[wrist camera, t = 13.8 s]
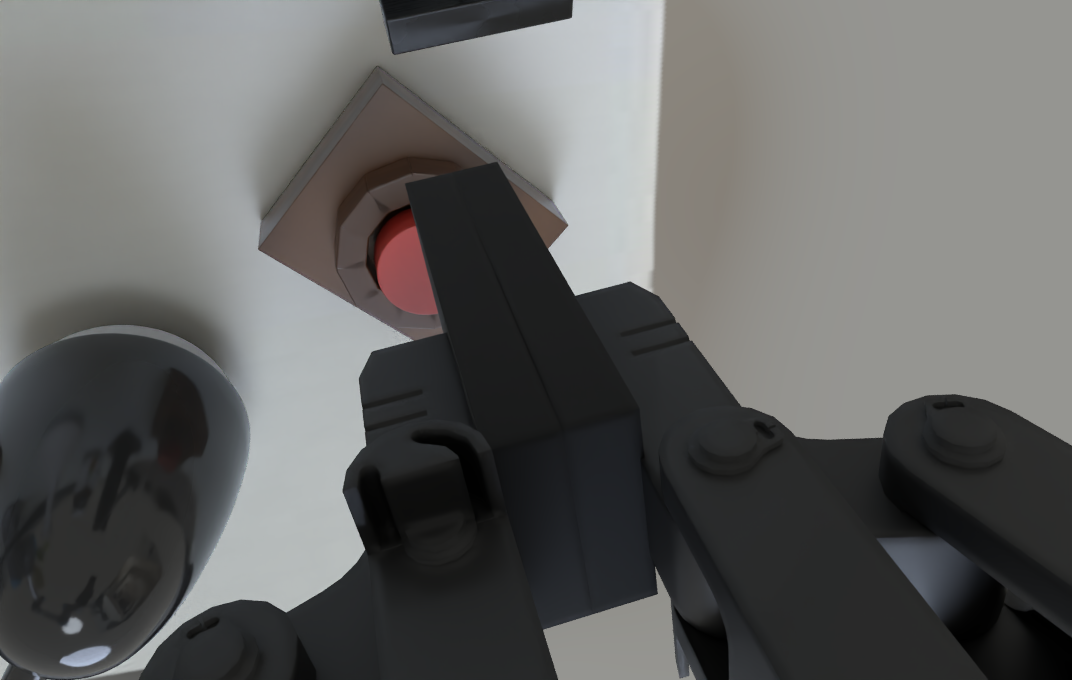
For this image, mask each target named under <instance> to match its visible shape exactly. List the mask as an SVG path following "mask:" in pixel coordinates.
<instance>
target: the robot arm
mask: <svg viewBox="0 0 1072 680" xmlns="http://www.w3.org/2000/svg"><path fill="white" fill-rule="evenodd" d="M405 186H406V190H407V194H408V198H409V202H410V206H411V210H412V213H413V217H414V221H415V225H416V229H417V233H418V237H419V241H420V245H421V248H422V252H423V256H424V260H425V264H426V268H427V272H428V276H429V280H430V284H431V287H432V291H433V295H434V299H435V303H436V307H437V311H438V315H439V319H440V322H441V326H442V330H443V333H442V334H438V335H434V336H430V337H426V338H423V339H419V340H415V341H411V342H407V343H403V344H400V345H396V346H392V347H388V348H384V349H380V350H377V351H373V352H372V353H371V355H370V357H369V359H368V361H367V363H366V365H365V367H364V369H363V371H362V373H361V375H360V377H359V385H360V394H361V403H362V407H363V410H362V411H363V420H364V428H365V431H366V432H365V438H366V447H365V448H363V449H362V450H361V451H360V452H359V454H358V455H357V456H356V458H355V459H354V461H353V462H352V463H351V465H350V466H349V468H348V469H347V471H346V476H345V481H344V486H343V494H344V496H345V499H346V501H347V504H348V507H349V509H350V512H351V514H352V517H353V519H354V522H355V524H356V527H357V529H358V532H359V534H360V537H361V539H362V542H363V545H364V547H365V551H364V553H363V554H362V556H361V557H360V559H359V560H358V562H357V563H356V564H355V565H354V566H353V567H352V568H351V569H350V570H349V571H348V572H347V573H346V574H345V575H344V576H343V577H342V578H341V579H340V580H338V581H337V582H335V583H334V584H333V585H331V586H330V587H328V588H327V589H325V590H324V591H323V592H321V593H319V594H318V595H316V596H314V597H312V598H311V599H309V600H307V601H306V602H304V603H302V604H300V605H299V606H297V607H295V608H294V609H292V610H290V611H288V612H287V613H286V612H284V611H282V610H281V609H279V608H277V607H275V606H274V605H272V604H270V603H268V602H266V601H252V600H238V601H234V602H230V603H226V604H222V605H219V606H215V607H211V608H210V609H208V610H206V611H204V612H203V613H201V614H199V615H197V616H195V617H194V618H192V619H190V620H188V621H187V622H185V623H183V624H182V625H181V626H180V627H179V628H178V629H177V630H176V631H175V632H173V633H172V634H171V635H170V636H169V637H168V638H167V639H166V640H165V641H164V642H163V643H162V644H161V645H160V646H158V648H157V650H156V651H155V653H154V654H153V656H152V658H151V659H150V661H149V663H148V664H147V666H146V667H145V669H144V671H143V672H142V674H141V676H140V678H139V680H558V678H557V674H556V671H555V668H554V665H553V661H552V658H551V655H550V652H549V648H548V645H547V642H546V639H545V635H544V632H543V629H546V628H550V627H553V626H556V625H559V624H563V623H566V622H569V621H572V620H576V619H579V618H582V617H585V616H589V615H592V614H595V613H598V612H602V611H605V610H608V609H611V608H614V607H617V606H621V605H624V604H627V603H631V602H634V601H637V600H640V599H644V598H647V597H650V596H653V595H656V594H658V592H657V582H656V573H655V567H656V569H657V571H658V573H659V575H660V577H661V579H662V581H663V583H664V586H665V588H666V590H667V592H668V594H669V596H670V598H671V608H672V620H673V633H674V644H675V657H676V663H677V668H678V672H679V677H680V678H683V677H686V676H689V665H690V667H691V670H692V672H693V674H694V676H695V678H696V680H1072V446H1071V445H1069V444H1068V443H1066V442H1064V441H1063V440H1061V439H1059V438H1058V437H1056V436H1054V435H1052V434H1051V433H1049V432H1047V431H1045V430H1044V429H1042V428H1040V427H1038V426H1036V425H1035V424H1033V423H1031V422H1029V421H1028V420H1026V419H1024V418H1023V417H1021V416H1019V415H1017V414H1016V413H1014V412H1012V411H1010V410H1008V409H1005V408H1003V407H1001V406H998V405H996V404H993V403H991V402H989V401H986V400H983V399H978V398H972V397H967V396H961V395H955V394H954V395H953V394H952V395H929V396H924V397H921V398H918V399H915V400H912V401H909V402H906V403H904V404H902V405H901V406H900V407H899V408H898V409H896V410H895V411H894V412H893V413H892V414H891V415H889V417H888V420H887V424H886V427H885V431H884V434H883V438H865V439H838V440H822V439H821V440H820V439H805V438H800V437H795V436H794V434H793V433H792V432H791V431H790V430H789V429H788V428H786V427H785V426H784V425H783V424H782V423H781V422H779V421H778V420H777V419H776V418H775V417H773V416H770V415H767V414H765V413H762V412H760V411H757V410H755V409H752V408H746V407H741V406H740V404H739V403H738V402H737V400H736V399H735V398H734V396H733V395H732V394H731V393H730V391H729V390H728V388H727V387H726V386H725V384H724V383H723V382H722V380H721V379H720V378H719V376H718V375H717V374H716V372H715V371H714V370H713V368H712V367H711V366H710V364H709V363H708V362H707V360H706V359H705V357H704V356H703V355H702V353H701V352H700V351H699V350H698V348H697V347H696V345H694V343H693V341H690V340H689V337H688V335H687V334H686V332H685V331H684V330H683V328H682V327H681V325H680V324H679V323H676V321H675V317H674V316H673V315H672V313H671V312H670V311H669V309H668V308H667V307H666V305H665V304H664V303H663V302H662V300H661V299H660V297H659V296H657V295H655V294H653V293H651V292H649V291H647V290H645V289H643V288H641V287H640V286H638V285H636V284H634V283H632V282H627V283H623V284H619V285H615V286H612V287H608V288H604V289H600V290H596V291H592V292H589V293H585V294H581V295H577V296H575V295H574V293H573V292H572V290H571V288H570V287H569V285H568V283H567V281H566V280H565V278H564V276H563V274H562V273H561V271H560V269H559V267H558V266H557V264H556V262H555V261H554V259H553V257H552V255H551V254H550V252H549V250H548V248H547V247H546V245H545V243H544V241H543V240H542V238H541V236H540V235H539V233H538V231H537V229H536V228H535V226H534V224H533V222H532V221H531V219H530V217H529V215H528V214H527V212H526V210H525V209H524V207H523V205H522V203H521V202H520V200H519V198H518V196H517V195H516V193H515V191H514V189H513V188H512V186H511V184H510V183H509V181H508V179H507V177H506V176H505V174H504V172H503V170H502V169H501V167H500V165H499V164H498V162H493V163H489V164H485V165H481V166H477V167H472V168H468V169H464V170H460V171H455V172H451V173H447V174H443V175H439V176H434V177H430V178H426V179H422V180H418V181H413V182H409V183H405ZM688 663H689V664H688Z"/></svg>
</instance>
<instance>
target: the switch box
mask: <svg viewBox="0 0 1072 680" xmlns="http://www.w3.org/2000/svg"><path fill="white" fill-rule="evenodd" d="M493 162H498V164H499V165H500V167H501V169H502V170H503V172H504V174H505V176H506V177H507V179H508V181H509V183H510V184H511V186H512V188H513V189H514V191H515V193H516V195H517V196H518V198H519V200H520V202H521V203H522V205H523V207H524V209H525V210H526V212H527V214H528V215H529V217H530V219H531V221H532V222H533V224H534V226H535V228H536V229H537V231H538V233H539V235H540V236H541V238H542V240H543V241H544V243H545V245H546V247H547V248H549V247H550V246H551V245H552V243H553V242H554V241H555V240H556V239H557V238H558V237H559V236H560V234H561V233H562V232H563V231H564V230H565V229H566V228H567V226H568V224H567V222H566V221H565V219H564V218H563V216H562V214H561V213H560V211H559V210H558V208H557V207H556V205H555V204H554V202H553V201H552V200H551V199H549V198H548V197H547V196H545V195H544V194H543V193H542V192H540V191H539V190H538V189H536V188H535V187H534V186H532V185H531V184H530V183H529V182H527V181H526V180H525V179H523V178H522V177H521V176H520V175H518V174H517V173H516V172H514V171H513V170H512V169H510V168H509V167H508V166H507V165H505V164H504V163H503V162H501V161H500V160H499V159H498V158H496V157H495V156H494V155H492V154H491V153H490V152H488V151H487V150H486V149H485V148H483V147H482V146H481V145H479V144H478V143H477V142H476V141H474V140H473V139H472V138H470V137H469V136H468V135H467V134H465V133H464V132H463V131H461V130H460V129H459V128H457V127H456V126H455V125H454V124H452V123H451V122H450V121H448V120H447V119H446V118H445V117H443V116H442V115H441V114H439V113H438V112H437V111H435V110H434V109H433V108H432V107H430V106H429V105H428V104H426V103H425V102H424V101H423V100H421V99H420V98H419V97H417V96H416V95H415V94H413V93H412V92H411V91H410V90H408V89H407V88H406V87H404V86H403V85H402V84H401V83H399V82H398V81H397V80H395V79H394V78H393V77H392V76H390V75H389V74H388V73H386V72H385V71H384V70H382V69H381V68H380V67H379V66H377V67H376V68H375V69H374V71H373V72H372V73H371V75H370V76H369V77H368V79H367V80H366V81H365V83H364V84H363V85H362V87H361V88H360V89H359V91H358V92H357V94H356V95H355V96H354V98H353V99H352V100H351V102H350V103H349V104H348V106H347V107H346V108H345V110H344V111H343V112H342V114H341V115H340V116H339V118H338V119H337V120H336V122H335V123H334V125H333V126H332V127H331V129H330V130H329V131H328V133H327V134H326V135H325V137H324V138H323V139H322V141H321V142H320V143H319V145H318V146H317V147H316V149H315V150H314V151H313V153H312V154H311V156H310V157H309V158H308V160H307V161H306V162H305V164H304V165H303V166H302V168H301V169H300V170H299V172H298V173H297V174H296V176H295V177H294V178H293V180H292V181H291V182H290V184H289V185H288V187H287V188H286V189H285V191H284V192H283V193H282V195H281V196H280V197H279V199H278V200H277V201H276V203H275V204H274V205H273V207H272V208H271V209H270V211H269V212H268V213H267V215H266V216H265V218H264V219H263V220H262V222H261V226H260V236H259V245H258V250H260V251H262V252H263V253H265V254H267V255H268V256H270V257H272V258H274V259H275V260H277V261H279V262H280V263H282V264H284V265H285V266H287V267H289V268H291V269H292V270H294V271H296V272H297V273H299V274H301V275H303V276H304V277H306V278H308V279H309V280H311V281H313V282H315V283H316V284H318V285H320V286H321V287H323V288H325V289H327V290H328V291H330V292H332V293H333V294H335V295H337V296H339V297H340V298H342V299H344V300H345V301H347V302H349V303H351V304H352V305H354V306H356V307H357V308H359V309H361V310H363V311H364V312H366V313H368V314H369V315H371V316H373V317H375V318H376V319H378V320H380V321H381V322H383V323H385V324H387V325H388V326H390V327H392V328H393V329H395V330H397V331H398V332H400V333H402V334H404V335H405V336H407V337H409V338H410V339H412V340H414V341H415V340H419V339H423V338H426V337H430V336H434V335H438V334H442V333H443V330H442V326H441V322H440V319H439V315H438V313H437V314H431V315H419V314H413V313H409V312H407V311H404V310H402V309H400V308H398V307H397V306H395V305H394V304H392V303H391V302H390V301H389V300H388V299H387V298H386V296H385V295H384V294H383V292H382V290H381V288H380V286H379V283H378V279H377V273H376V267H375V261H374V245H375V241H376V238H377V235H378V233H379V232H380V230H381V228H382V227H383V226H384V225H385V223H386V222H387V221H388V220H390V219H391V218H392V217H393V216H395V215H396V214H398V213H400V212H402V211H404V210H407V209H410V208H411V206H410V202H409V198H408V194H407V190H406V186H405V183H409V182H413V181H418V180H422V179H426V178H430V177H434V176H439V175H443V174H447V173H451V172H455V171H460V170H464V169H468V168H472V167H477V166H481V165H485V164H489V163H493Z"/></svg>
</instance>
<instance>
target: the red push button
mask: <svg viewBox="0 0 1072 680" xmlns="http://www.w3.org/2000/svg"><path fill="white" fill-rule="evenodd" d="M374 261H375V267H376V273H377V279H378V283H379V286H380V288H381V290H382V292H383V294H384V295H385V296H386V298H387V299H388V300H389V301H390V302H391V303H392V304H394V305H395V306H397V307H398V308H400V309H402V310H404V311H407V312H409V313H413V314H419V315H431V314H437V313H438V311H437V307H436V303H435V299H434V295H433V291H432V287H431V284H430V280H429V276H428V272H427V268H426V264H425V260H424V256H423V252H422V248H421V245H420V241H419V237H418V233H417V229H416V225H415V221H414V217H413V213H412V210H411V208H410V209H407V210H404V211H402V212H400V213H398V214H396V215H395V216H393V217H392V218H391V219H390V220H388V221H387V222H386V223H385V225H384V226H383V227H382V228H381V230H380V232H379V233H378V235H377V238H376V241H375V245H374Z"/></svg>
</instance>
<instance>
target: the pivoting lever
mask: <svg viewBox="0 0 1072 680" xmlns="http://www.w3.org/2000/svg"><path fill="white" fill-rule="evenodd" d="M379 2H380V6H381V11H382V15H383V20H384V25H385V28H386V32H387V36H388V39H389V43H390V47H391V50H392V53H393V54H394V55H396V54H401V53H406V52H411V51H416V50H420V49H425V48H430V47H435V46H440V45H444V44H449V43H454V42H459V41H464V40H469V39H473V38H478V37H483V36H488V35H493V34H497V33H502V32H507V31H512V30H517V29H522V28H526V27H531V26H536V25H541V24H546V23H550V22H555V21H560V20H565V19H570V18H572V7H573V0H379Z"/></svg>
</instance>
